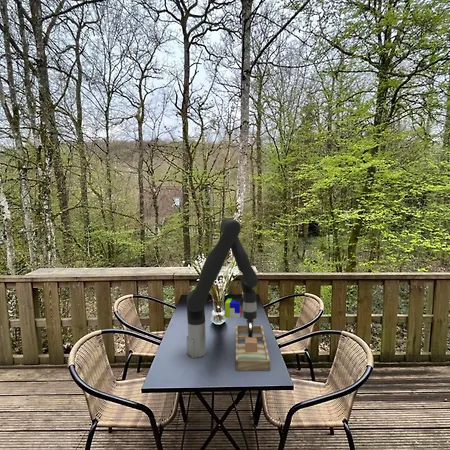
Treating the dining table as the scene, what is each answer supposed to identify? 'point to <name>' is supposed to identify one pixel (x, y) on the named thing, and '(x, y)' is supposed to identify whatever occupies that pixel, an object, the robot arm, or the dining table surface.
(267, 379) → the dining table surface
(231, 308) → the puzzle toy
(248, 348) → the block
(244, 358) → the trap lane
